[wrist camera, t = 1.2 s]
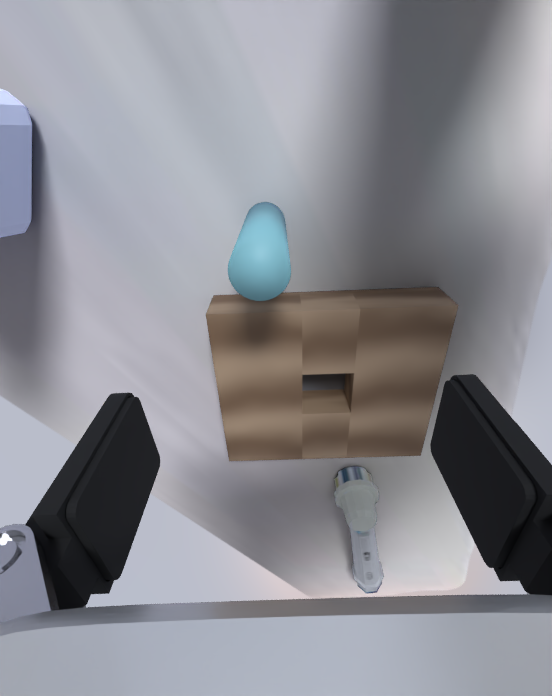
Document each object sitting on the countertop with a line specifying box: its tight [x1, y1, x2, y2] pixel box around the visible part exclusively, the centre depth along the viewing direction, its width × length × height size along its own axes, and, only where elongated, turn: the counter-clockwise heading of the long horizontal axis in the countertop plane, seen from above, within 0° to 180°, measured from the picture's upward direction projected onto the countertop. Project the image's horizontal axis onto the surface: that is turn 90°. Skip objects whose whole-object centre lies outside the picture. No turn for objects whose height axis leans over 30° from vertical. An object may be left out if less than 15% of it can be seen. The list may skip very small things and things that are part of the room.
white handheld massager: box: [334, 466, 384, 593], centre depth 47 cm, size 5×7×25 cm
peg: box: [228, 202, 291, 301], centre depth 23 cm, size 3×3×12 cm
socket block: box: [206, 287, 458, 461], centre depth 33 cm, size 17×20×4 cm
